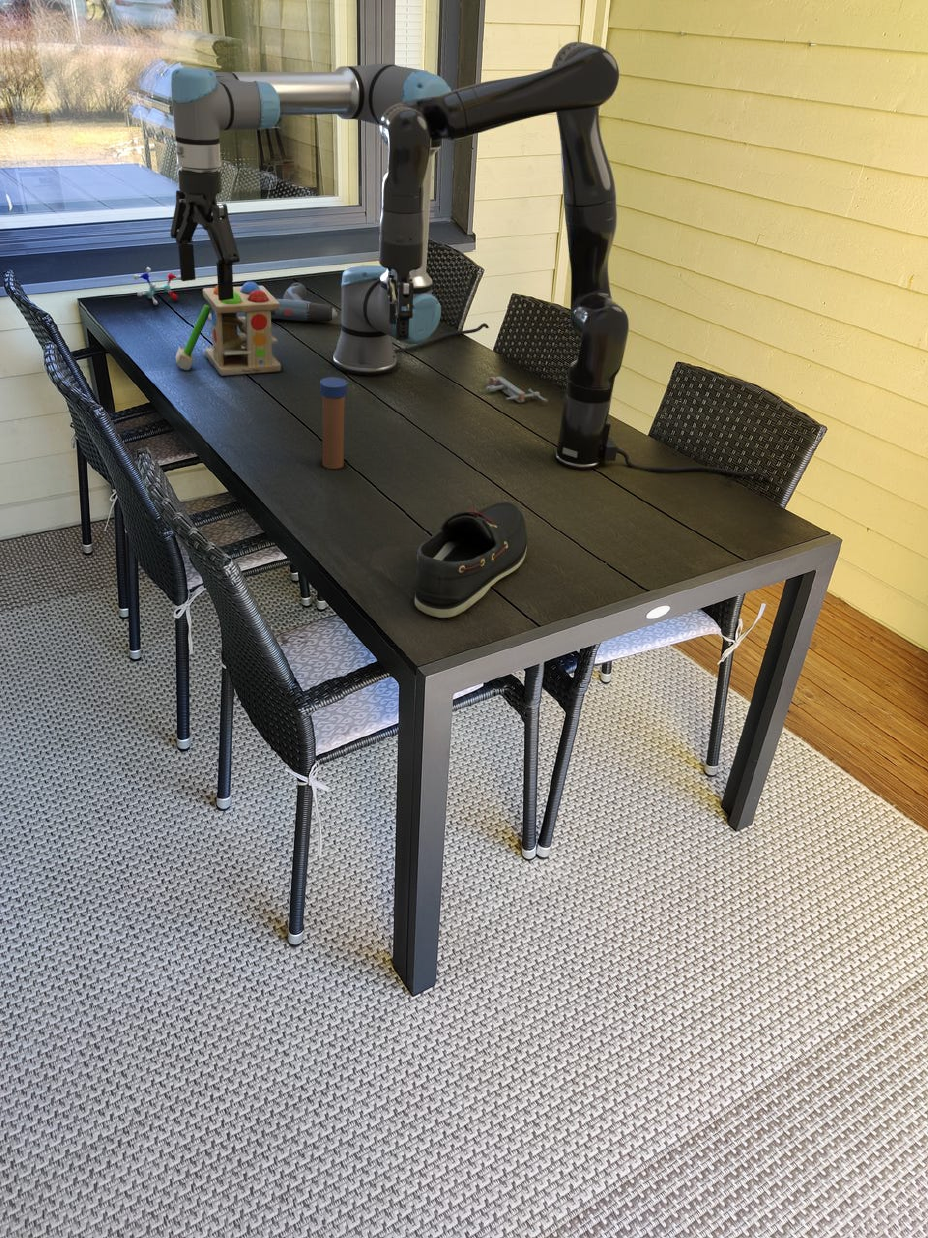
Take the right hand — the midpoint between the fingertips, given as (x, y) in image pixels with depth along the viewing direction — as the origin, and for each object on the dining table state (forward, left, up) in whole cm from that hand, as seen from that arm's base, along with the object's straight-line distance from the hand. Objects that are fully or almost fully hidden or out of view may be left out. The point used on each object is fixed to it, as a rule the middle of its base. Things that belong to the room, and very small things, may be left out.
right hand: (398, 331), depth 176 cm
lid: (+11, -3, -11) cm, 16 cm away
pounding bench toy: (+31, -57, -28) cm, 70 cm away
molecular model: (+48, -106, -28) cm, 120 cm away
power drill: (+9, -97, -28) cm, 101 cm away
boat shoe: (-8, +38, -28) cm, 47 cm away
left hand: (+33, -21, 0) cm, 40 cm away
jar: (+11, -3, -28) cm, 30 cm away
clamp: (-34, -37, -28) cm, 58 cm away
